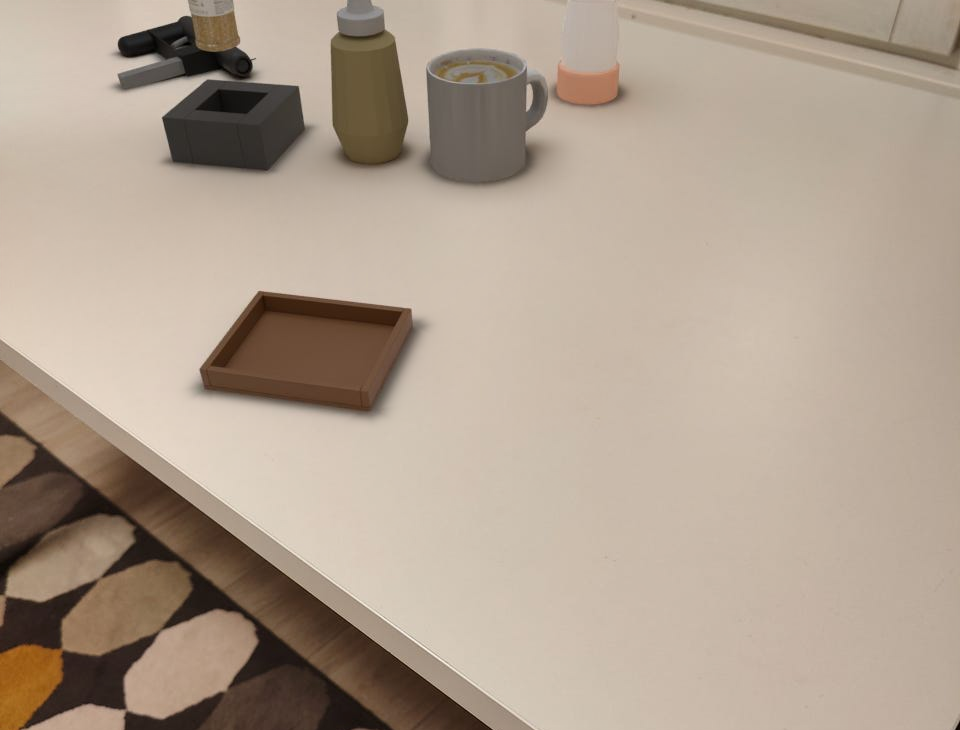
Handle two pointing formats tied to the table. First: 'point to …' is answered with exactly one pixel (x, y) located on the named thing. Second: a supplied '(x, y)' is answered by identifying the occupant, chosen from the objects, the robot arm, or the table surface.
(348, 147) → the squeeze bottle
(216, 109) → the socket base
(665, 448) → the table surface
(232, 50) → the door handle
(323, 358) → the tray
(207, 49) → the sprinkles bottle
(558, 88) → the pepper shaker
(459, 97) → the coffee mug
